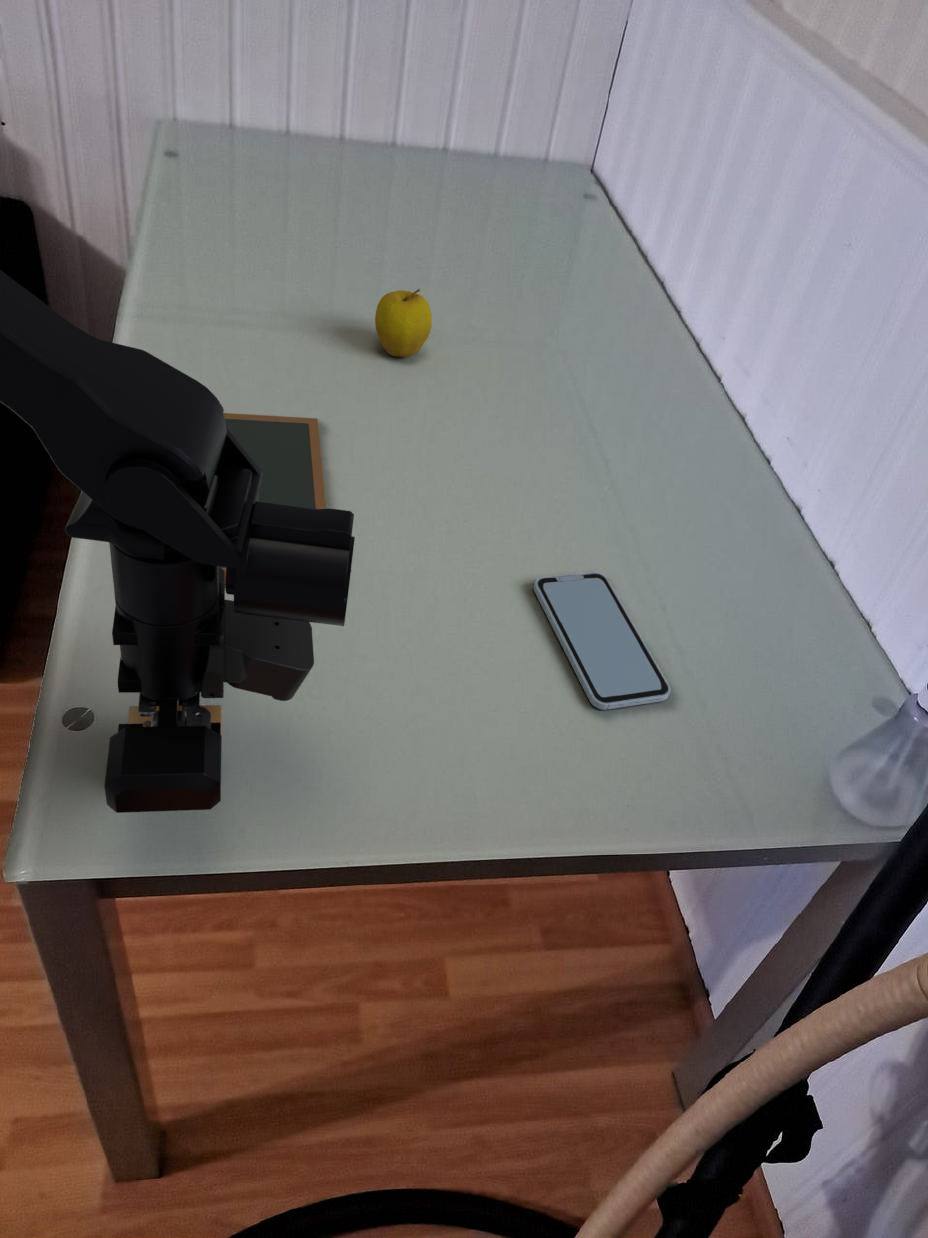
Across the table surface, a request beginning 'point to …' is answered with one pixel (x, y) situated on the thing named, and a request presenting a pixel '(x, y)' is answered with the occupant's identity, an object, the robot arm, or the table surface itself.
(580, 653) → the smartphone
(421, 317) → the apple
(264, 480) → the chalkboard
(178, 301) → the table surface
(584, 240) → the table surface
